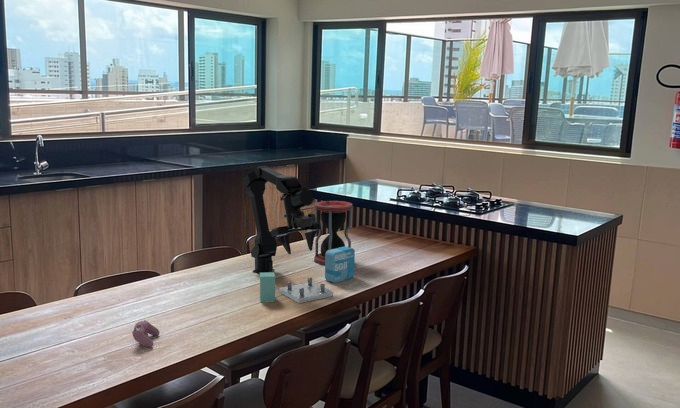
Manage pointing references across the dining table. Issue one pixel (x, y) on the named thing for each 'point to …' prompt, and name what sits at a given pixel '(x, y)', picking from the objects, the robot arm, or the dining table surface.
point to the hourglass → (332, 226)
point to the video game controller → (144, 333)
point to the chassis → (305, 291)
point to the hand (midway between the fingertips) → (300, 252)
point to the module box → (267, 287)
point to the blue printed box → (339, 264)
